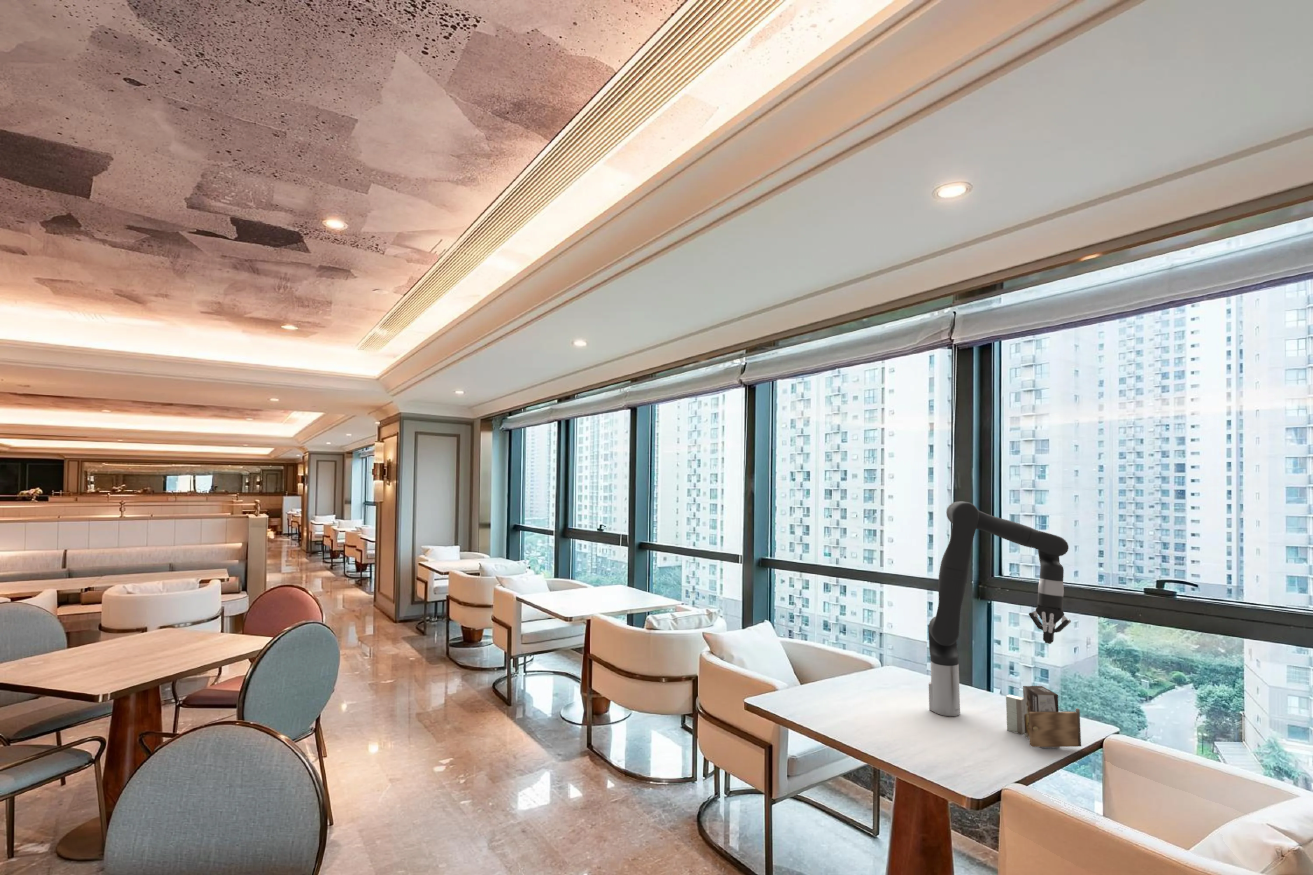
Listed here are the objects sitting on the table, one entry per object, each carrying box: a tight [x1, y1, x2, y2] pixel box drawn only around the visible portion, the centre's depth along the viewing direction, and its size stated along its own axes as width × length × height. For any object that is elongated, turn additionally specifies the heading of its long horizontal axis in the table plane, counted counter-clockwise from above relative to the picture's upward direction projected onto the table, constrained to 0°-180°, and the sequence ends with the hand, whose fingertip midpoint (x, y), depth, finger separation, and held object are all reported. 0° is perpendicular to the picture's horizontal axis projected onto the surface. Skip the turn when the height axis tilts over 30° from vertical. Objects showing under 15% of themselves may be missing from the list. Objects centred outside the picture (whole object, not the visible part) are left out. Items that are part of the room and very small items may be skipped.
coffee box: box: [1022, 685, 1061, 749], centre depth 200 cm, size 9×6×16 cm
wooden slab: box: [1028, 707, 1082, 748], centre depth 194 cm, size 16×2×11 cm, turn 91°
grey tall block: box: [1005, 694, 1025, 736], centre depth 208 cm, size 5×3×11 cm, turn 41°
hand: (1048, 643), depth 219 cm, fingers closed
